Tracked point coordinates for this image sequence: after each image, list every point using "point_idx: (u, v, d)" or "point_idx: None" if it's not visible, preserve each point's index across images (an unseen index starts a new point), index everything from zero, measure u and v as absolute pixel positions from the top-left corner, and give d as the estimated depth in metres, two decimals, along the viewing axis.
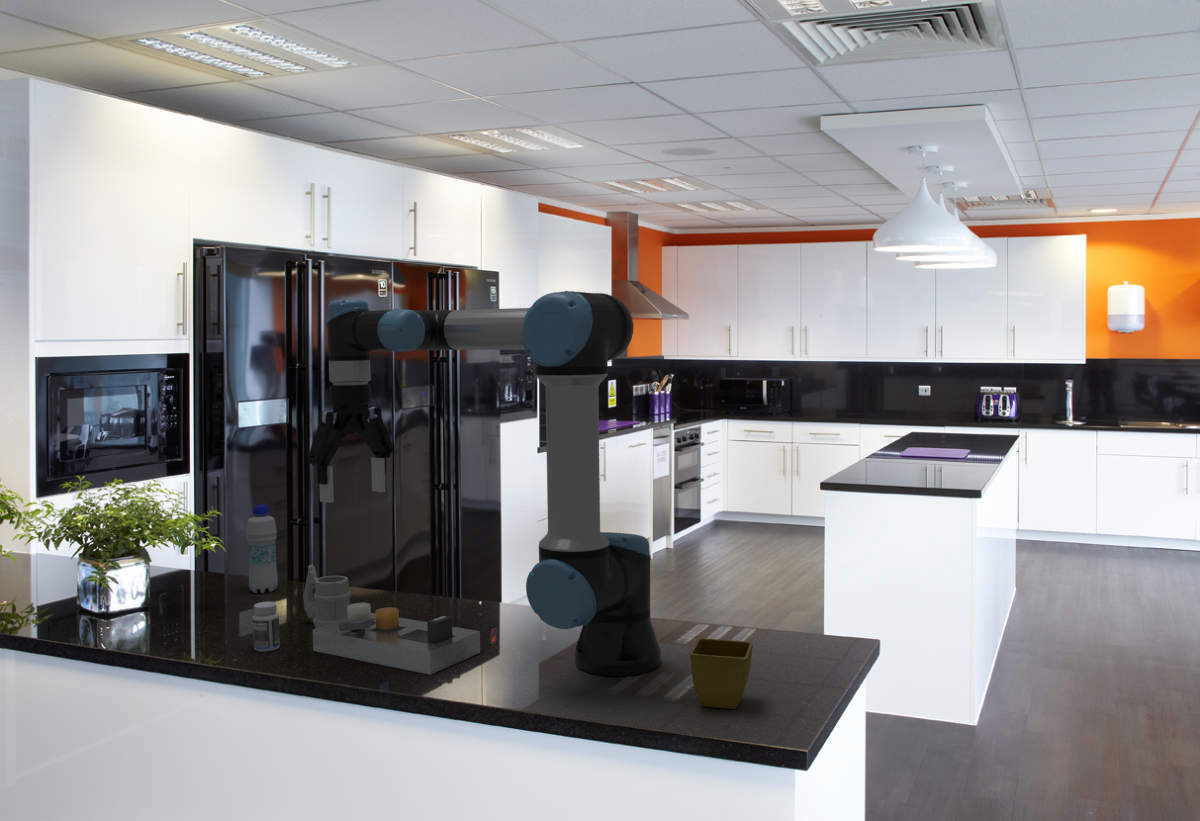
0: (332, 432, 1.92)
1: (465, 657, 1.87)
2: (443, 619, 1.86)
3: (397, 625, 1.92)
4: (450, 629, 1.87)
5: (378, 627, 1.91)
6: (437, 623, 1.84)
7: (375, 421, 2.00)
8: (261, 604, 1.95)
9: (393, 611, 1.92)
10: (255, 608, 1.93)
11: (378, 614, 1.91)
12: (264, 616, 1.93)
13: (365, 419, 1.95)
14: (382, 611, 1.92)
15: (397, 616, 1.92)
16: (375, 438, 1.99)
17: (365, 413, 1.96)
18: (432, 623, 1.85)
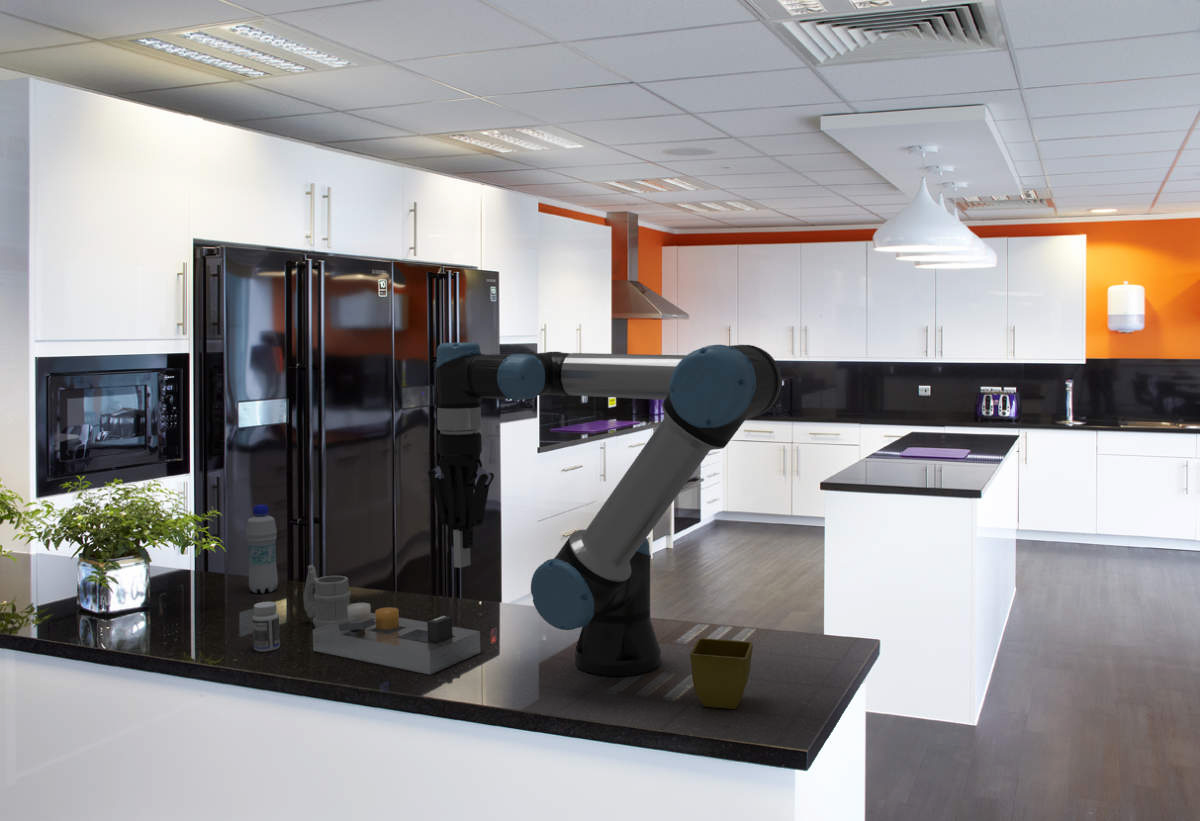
0: None
1: (465, 657, 1.87)
2: (443, 619, 1.86)
3: (397, 625, 1.92)
4: (450, 629, 1.87)
5: (378, 627, 1.91)
6: (437, 623, 1.84)
7: None
8: (261, 604, 1.95)
9: (393, 611, 1.92)
10: (255, 608, 1.93)
11: (378, 614, 1.91)
12: (264, 616, 1.93)
13: (459, 473, 1.79)
14: (382, 611, 1.92)
15: (397, 616, 1.92)
16: (462, 502, 1.80)
17: (468, 464, 1.79)
18: (432, 623, 1.85)
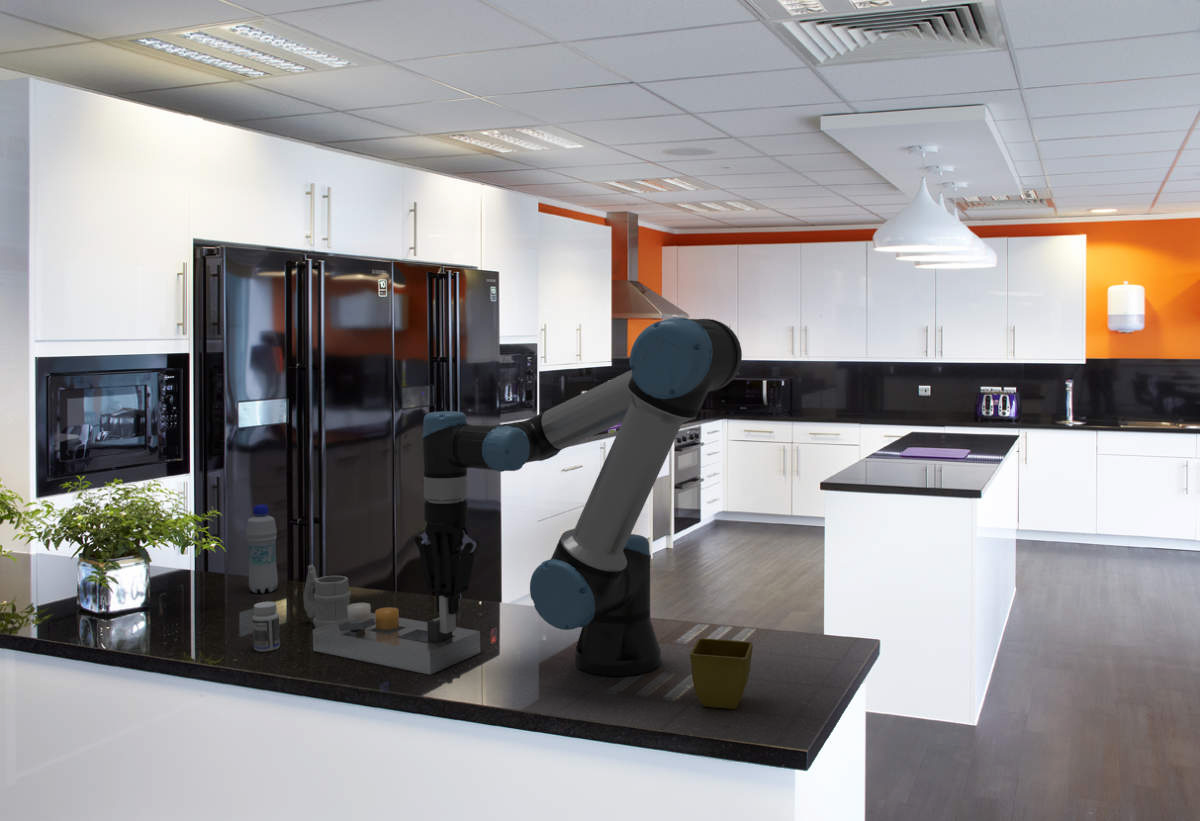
0: None
1: (465, 657, 1.87)
2: None
3: (397, 625, 1.92)
4: None
5: (378, 627, 1.91)
6: (437, 623, 1.84)
7: None
8: (261, 604, 1.95)
9: (393, 611, 1.92)
10: (255, 608, 1.93)
11: (378, 614, 1.91)
12: (264, 616, 1.93)
13: (445, 541, 1.82)
14: (382, 611, 1.92)
15: (397, 616, 1.92)
16: (448, 569, 1.83)
17: (454, 533, 1.82)
18: (431, 623, 1.85)
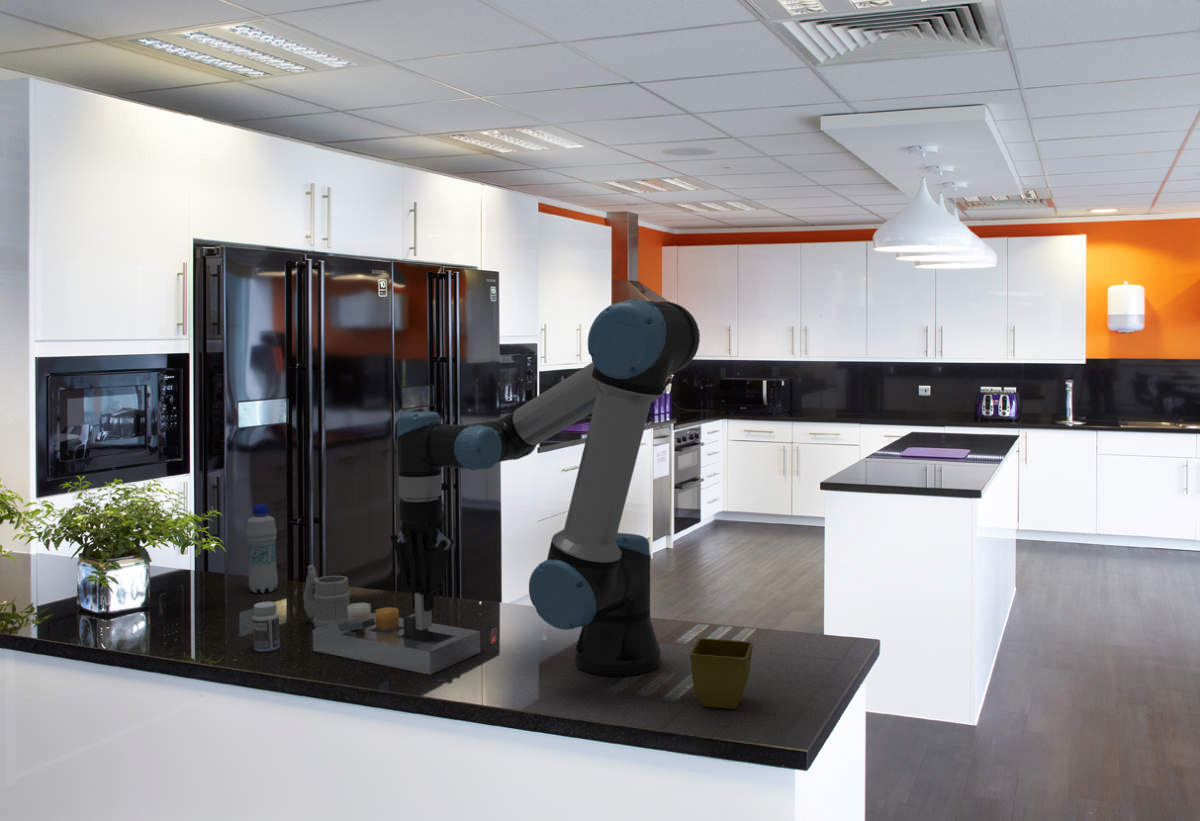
0: None
1: (465, 657, 1.87)
2: None
3: (397, 625, 1.92)
4: None
5: (378, 627, 1.91)
6: (413, 619, 1.87)
7: None
8: (261, 604, 1.95)
9: (393, 611, 1.92)
10: (255, 608, 1.93)
11: (378, 614, 1.91)
12: (264, 616, 1.93)
13: (420, 539, 1.85)
14: (382, 611, 1.92)
15: (397, 616, 1.92)
16: (423, 566, 1.86)
17: (429, 531, 1.85)
18: (407, 619, 1.87)
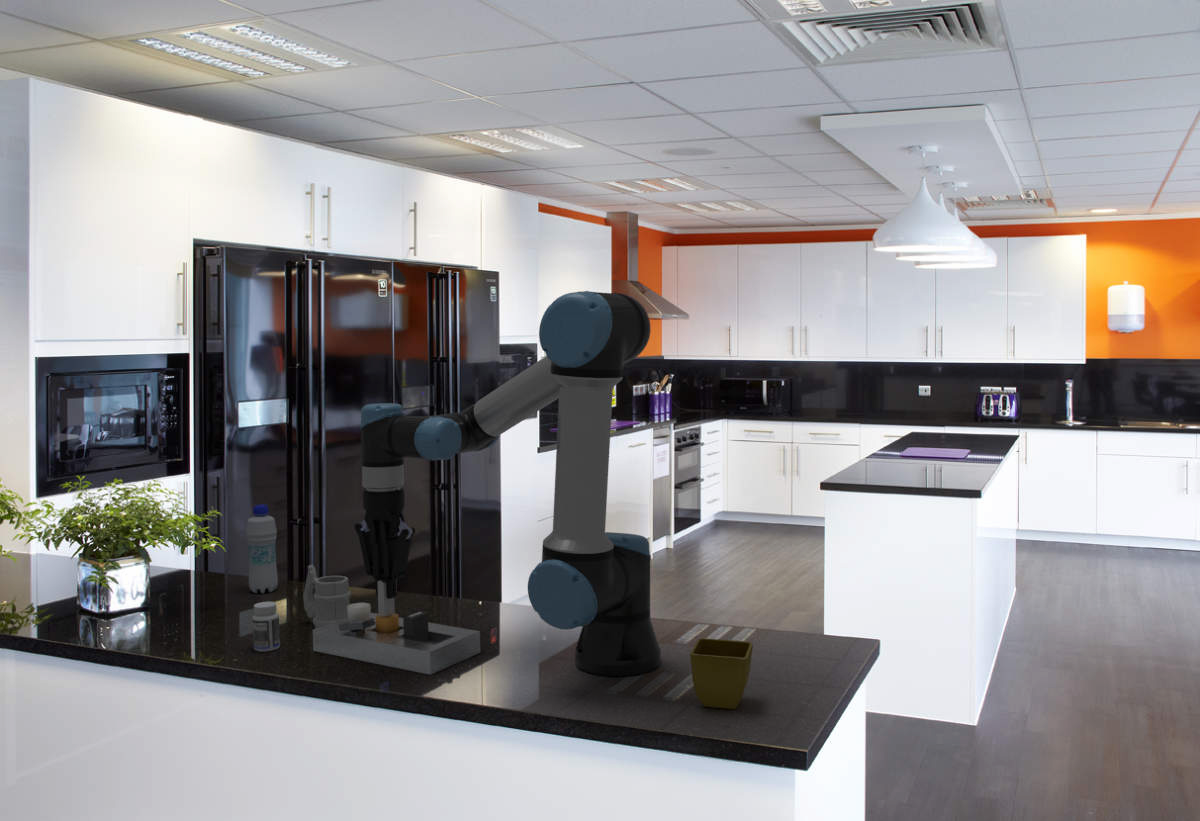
0: None
1: (465, 657, 1.87)
2: (419, 615, 1.89)
3: None
4: (426, 625, 1.90)
5: None
6: (413, 619, 1.87)
7: None
8: (261, 604, 1.95)
9: (393, 617, 1.92)
10: (255, 608, 1.93)
11: (378, 620, 1.91)
12: (264, 616, 1.93)
13: (382, 528, 1.89)
14: (382, 617, 1.92)
15: (397, 622, 1.92)
16: (386, 554, 1.90)
17: (391, 520, 1.89)
18: (407, 619, 1.87)
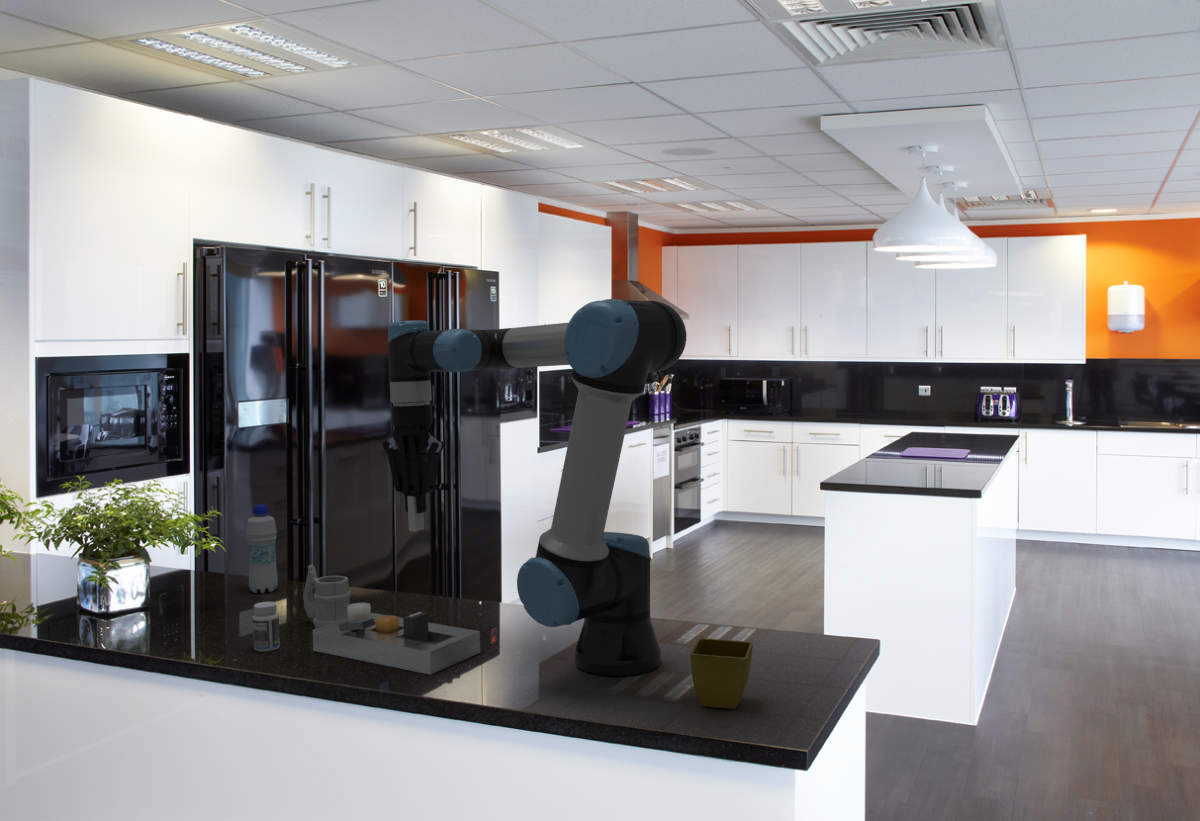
0: None
1: (465, 657, 1.87)
2: (419, 615, 1.89)
3: None
4: (426, 625, 1.90)
5: None
6: (413, 619, 1.87)
7: None
8: (261, 604, 1.95)
9: (393, 619, 1.92)
10: (255, 608, 1.93)
11: (378, 622, 1.91)
12: (264, 616, 1.93)
13: (412, 442, 1.92)
14: (382, 619, 1.92)
15: (397, 624, 1.92)
16: (415, 469, 1.93)
17: (420, 434, 1.92)
18: (407, 619, 1.87)
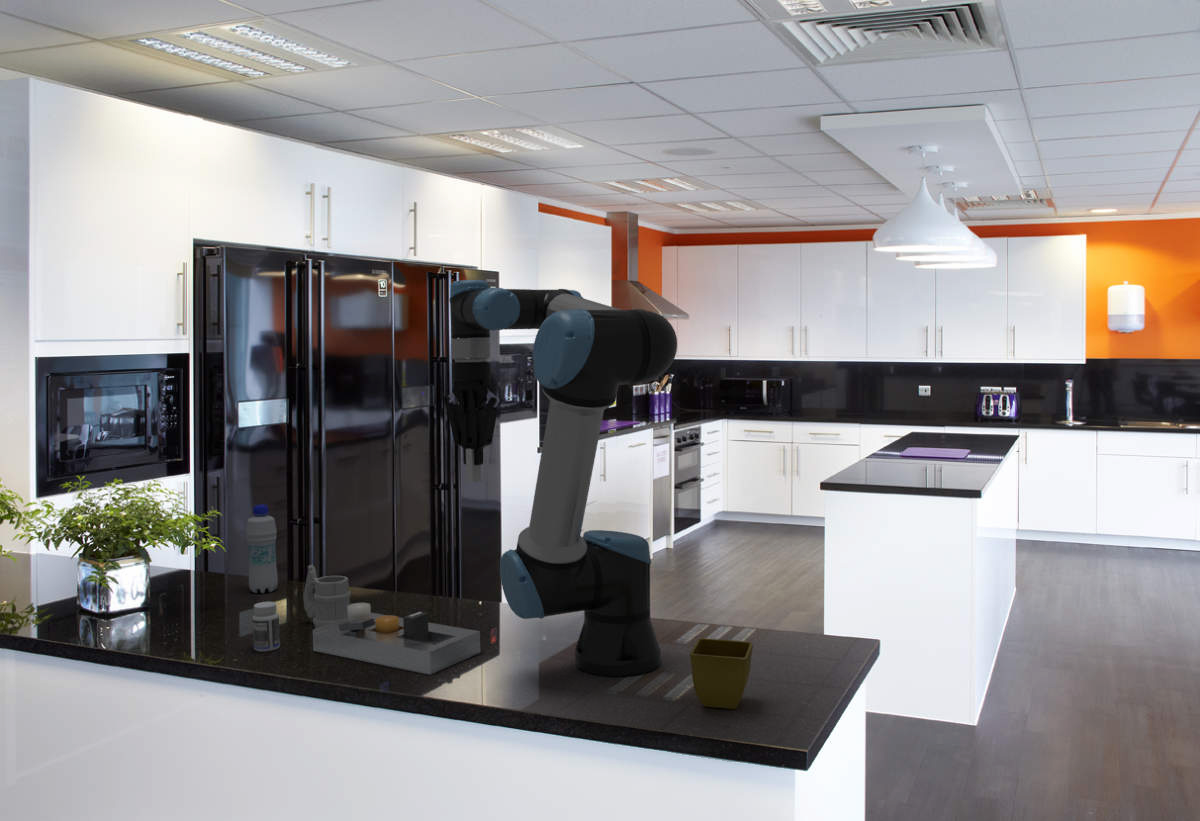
0: None
1: (465, 657, 1.87)
2: (419, 615, 1.89)
3: None
4: (426, 625, 1.90)
5: None
6: (413, 619, 1.87)
7: None
8: (261, 604, 1.95)
9: (393, 619, 1.92)
10: (255, 608, 1.93)
11: (378, 622, 1.91)
12: (264, 616, 1.93)
13: (471, 397, 2.01)
14: (382, 619, 1.92)
15: (397, 624, 1.92)
16: (474, 423, 2.02)
17: (479, 389, 2.00)
18: (407, 619, 1.87)
